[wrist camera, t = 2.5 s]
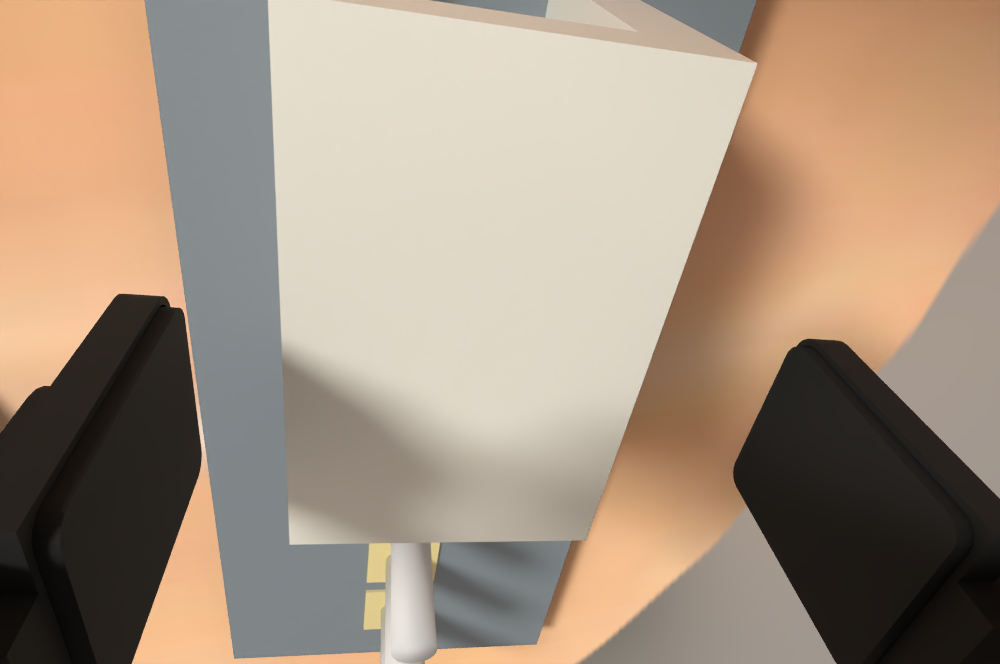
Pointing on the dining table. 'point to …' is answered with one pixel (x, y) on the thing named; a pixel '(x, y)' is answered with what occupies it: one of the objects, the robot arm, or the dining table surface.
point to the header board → (259, 374)
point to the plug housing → (479, 252)
